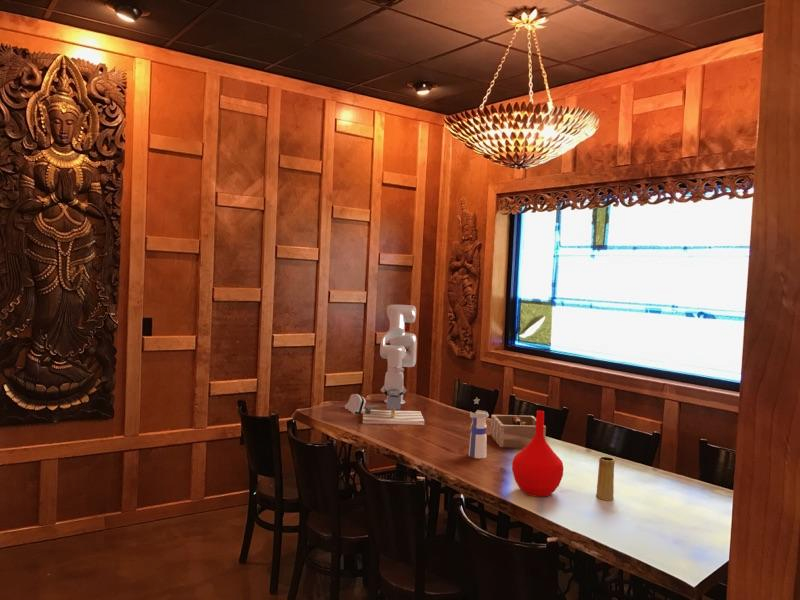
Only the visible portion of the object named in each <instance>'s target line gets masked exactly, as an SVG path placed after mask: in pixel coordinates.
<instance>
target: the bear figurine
mask: <svg viewBox="0 0 800 600" xmlns="http://www.w3.org/2000/svg"><path fill="white" fill-rule="evenodd" d="M520 416H521V415H518V416H517V417H513V416H511V418H512V422H513V425H526V424H527V422H521V421H520V418H519V417H520Z"/></svg>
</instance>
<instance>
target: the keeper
mask: <svg viewBox="0 0 800 600" xmlns="http://www.w3.org/2000/svg"><path fill="white" fill-rule="evenodd" d="M379 408H380V405H377V404H373V405H372V404H371V405H367V406H364V410H365V413H366V414H370V411H371V410H375V409H379Z"/></svg>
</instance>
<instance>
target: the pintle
mask: <svg viewBox="0 0 800 600" xmlns="http://www.w3.org/2000/svg"><path fill="white" fill-rule="evenodd" d="M390 410H391V417H392V418H395V417H396V411H397V409H390Z"/></svg>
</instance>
